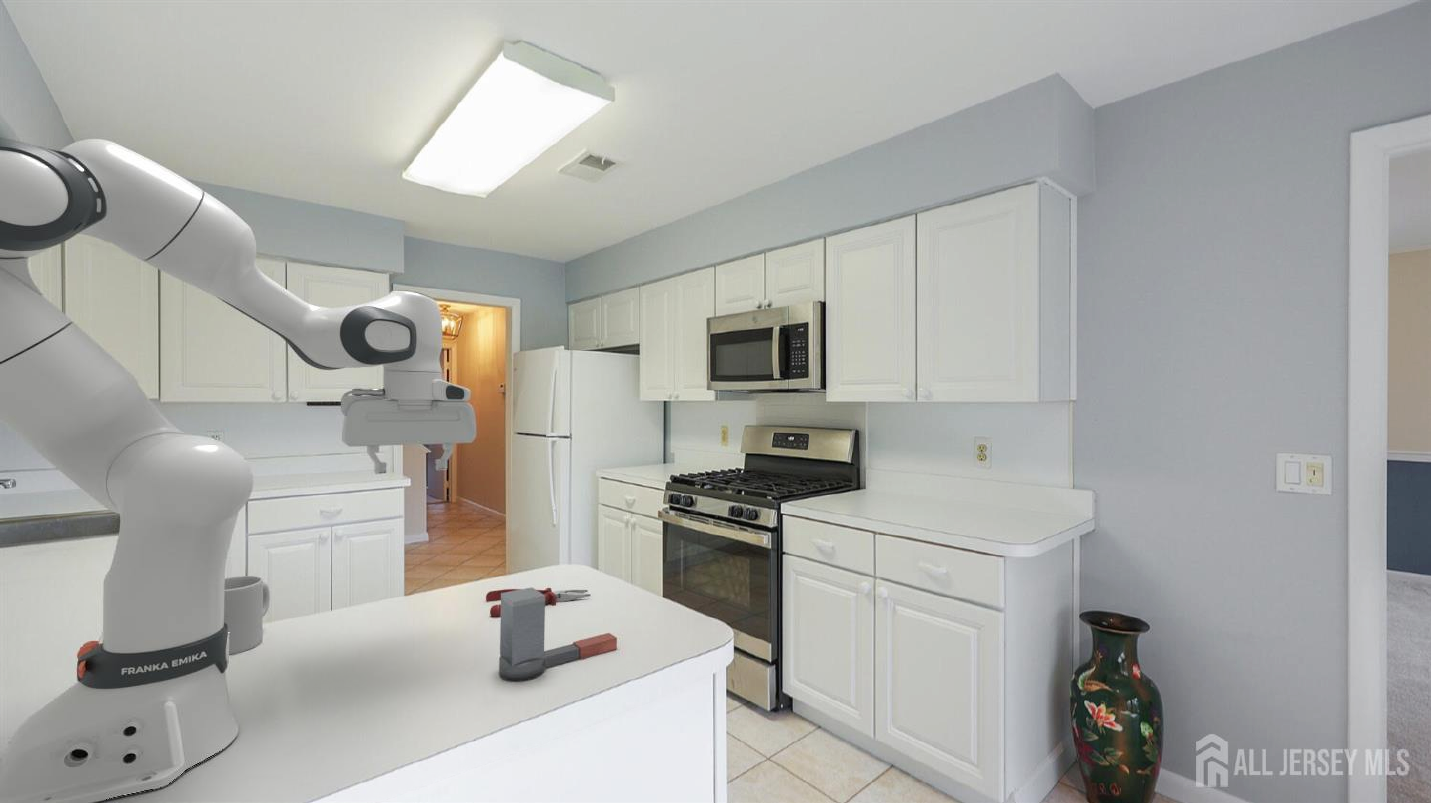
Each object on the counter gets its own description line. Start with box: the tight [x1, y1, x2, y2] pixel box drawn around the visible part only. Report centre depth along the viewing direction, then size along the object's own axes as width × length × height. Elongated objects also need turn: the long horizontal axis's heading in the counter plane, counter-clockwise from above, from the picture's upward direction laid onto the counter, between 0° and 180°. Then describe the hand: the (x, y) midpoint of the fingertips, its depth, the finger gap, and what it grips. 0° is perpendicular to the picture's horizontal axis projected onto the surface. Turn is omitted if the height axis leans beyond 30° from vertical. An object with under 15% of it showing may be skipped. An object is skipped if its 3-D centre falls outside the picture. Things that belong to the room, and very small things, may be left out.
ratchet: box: [498, 632, 618, 682], centre depth 102 cm, size 20×7×6 cm, turn 129°
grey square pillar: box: [499, 587, 546, 666], centre depth 98 cm, size 5×5×10 cm
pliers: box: [485, 587, 591, 618], centre depth 131 cm, size 12×21×3 cm, turn 115°
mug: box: [224, 575, 271, 656], centre depth 107 cm, size 12×8×11 cm
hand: (411, 471), depth 103 cm, fingers open, 8 cm apart
